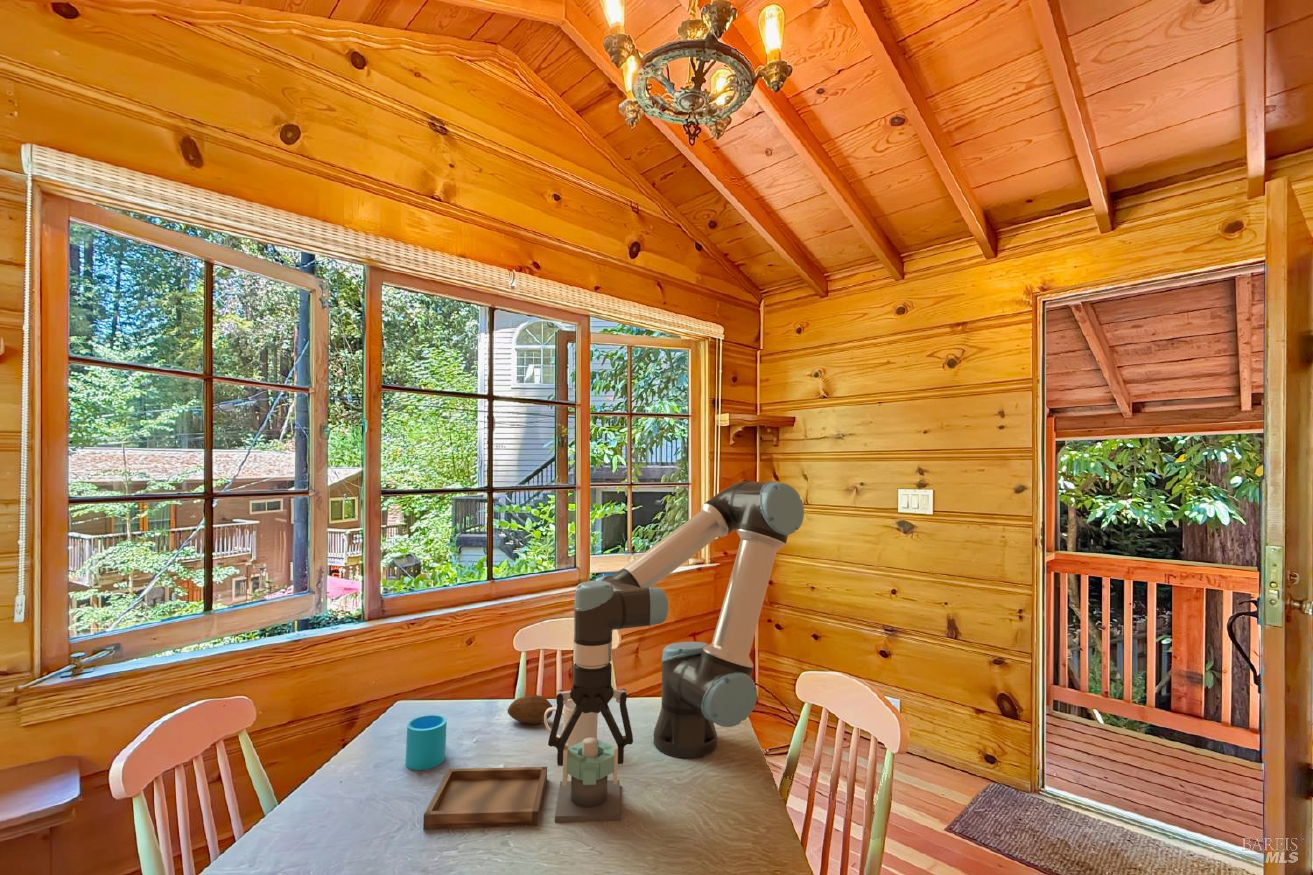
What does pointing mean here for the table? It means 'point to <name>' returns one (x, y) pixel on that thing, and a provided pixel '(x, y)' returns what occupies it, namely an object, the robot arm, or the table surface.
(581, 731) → the mug
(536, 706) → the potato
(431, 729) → the mug
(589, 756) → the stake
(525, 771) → the tray
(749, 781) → the table surface
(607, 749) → the ring
